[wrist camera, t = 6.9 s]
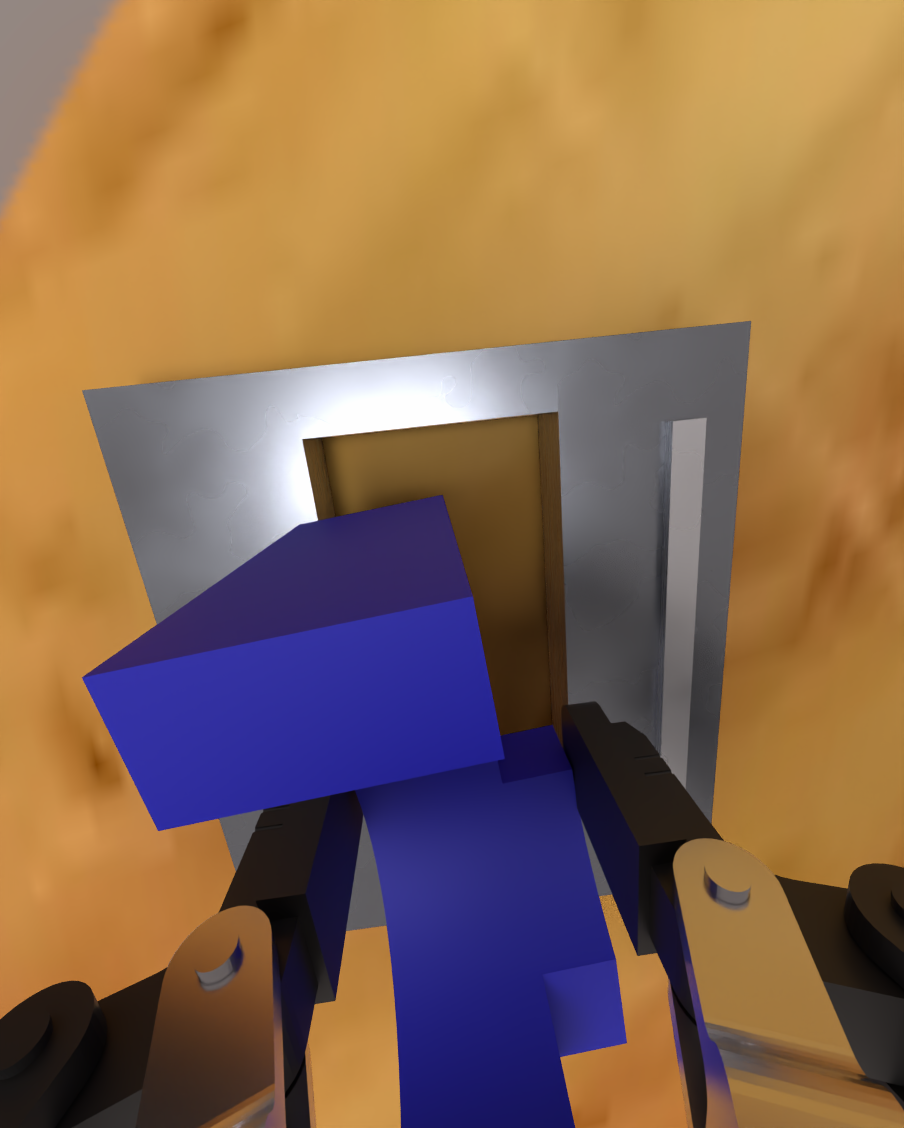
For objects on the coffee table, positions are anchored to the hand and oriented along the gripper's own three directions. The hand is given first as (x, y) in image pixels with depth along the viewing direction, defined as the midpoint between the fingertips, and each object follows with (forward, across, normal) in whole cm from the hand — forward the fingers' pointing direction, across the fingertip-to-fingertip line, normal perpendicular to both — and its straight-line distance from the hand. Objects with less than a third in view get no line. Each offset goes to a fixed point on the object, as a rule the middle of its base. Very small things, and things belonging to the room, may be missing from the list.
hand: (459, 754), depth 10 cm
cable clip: (+1, 0, 0) cm, 1 cm away
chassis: (+5, 0, 0) cm, 5 cm away
